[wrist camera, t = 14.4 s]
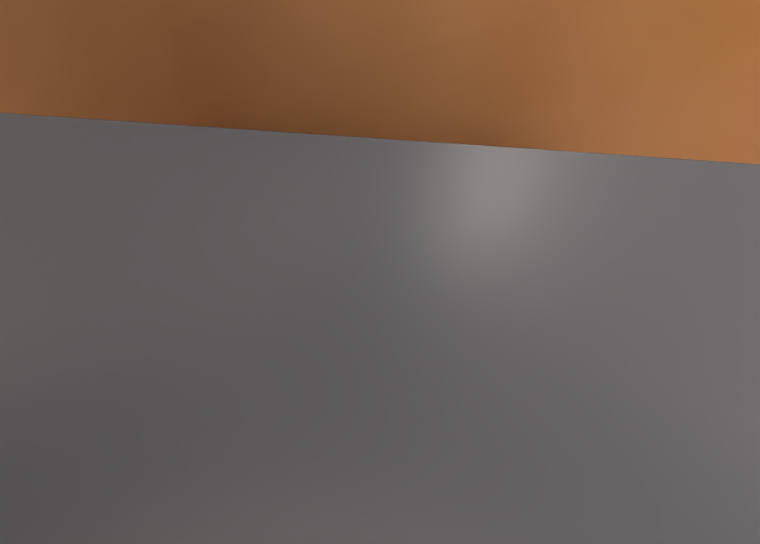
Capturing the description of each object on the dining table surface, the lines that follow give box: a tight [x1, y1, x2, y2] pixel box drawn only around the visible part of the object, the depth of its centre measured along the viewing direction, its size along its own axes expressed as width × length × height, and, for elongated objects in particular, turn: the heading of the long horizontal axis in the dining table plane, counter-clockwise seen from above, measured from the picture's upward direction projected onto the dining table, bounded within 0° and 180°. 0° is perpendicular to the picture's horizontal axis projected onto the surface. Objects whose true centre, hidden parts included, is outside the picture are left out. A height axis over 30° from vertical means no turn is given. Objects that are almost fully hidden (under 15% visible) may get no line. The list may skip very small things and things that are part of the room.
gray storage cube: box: [0, 113, 760, 544], centre depth 8 cm, size 10×10×9 cm
